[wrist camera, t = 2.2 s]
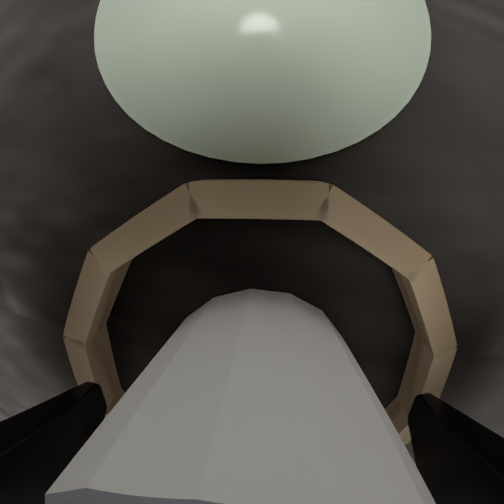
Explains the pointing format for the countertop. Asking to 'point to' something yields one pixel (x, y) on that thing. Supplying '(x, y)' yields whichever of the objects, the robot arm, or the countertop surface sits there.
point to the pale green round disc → (262, 71)
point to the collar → (263, 207)
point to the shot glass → (246, 419)
